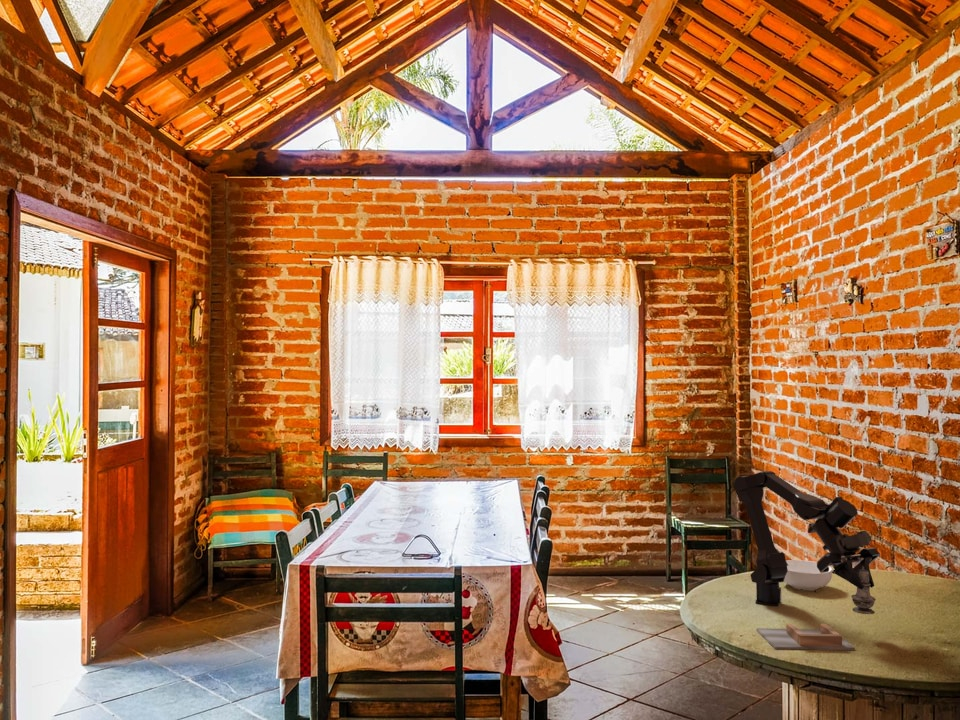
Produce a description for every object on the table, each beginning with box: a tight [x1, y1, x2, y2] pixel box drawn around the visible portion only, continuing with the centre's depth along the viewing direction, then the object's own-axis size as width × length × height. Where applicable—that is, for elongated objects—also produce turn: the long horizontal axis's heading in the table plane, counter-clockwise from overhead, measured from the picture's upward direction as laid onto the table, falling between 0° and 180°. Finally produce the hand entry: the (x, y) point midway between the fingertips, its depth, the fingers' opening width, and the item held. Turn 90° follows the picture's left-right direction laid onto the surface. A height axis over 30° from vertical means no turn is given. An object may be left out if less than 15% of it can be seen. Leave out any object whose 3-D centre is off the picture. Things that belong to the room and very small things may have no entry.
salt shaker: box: [850, 566, 877, 615], centre depth 197 cm, size 6×6×12 cm
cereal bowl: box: [783, 559, 833, 591], centre depth 244 cm, size 17×17×7 cm
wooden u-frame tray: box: [756, 623, 856, 651], centre depth 194 cm, size 14×20×3 cm
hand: (867, 587), depth 196 cm, fingers closed on salt shaker, 4 cm apart
